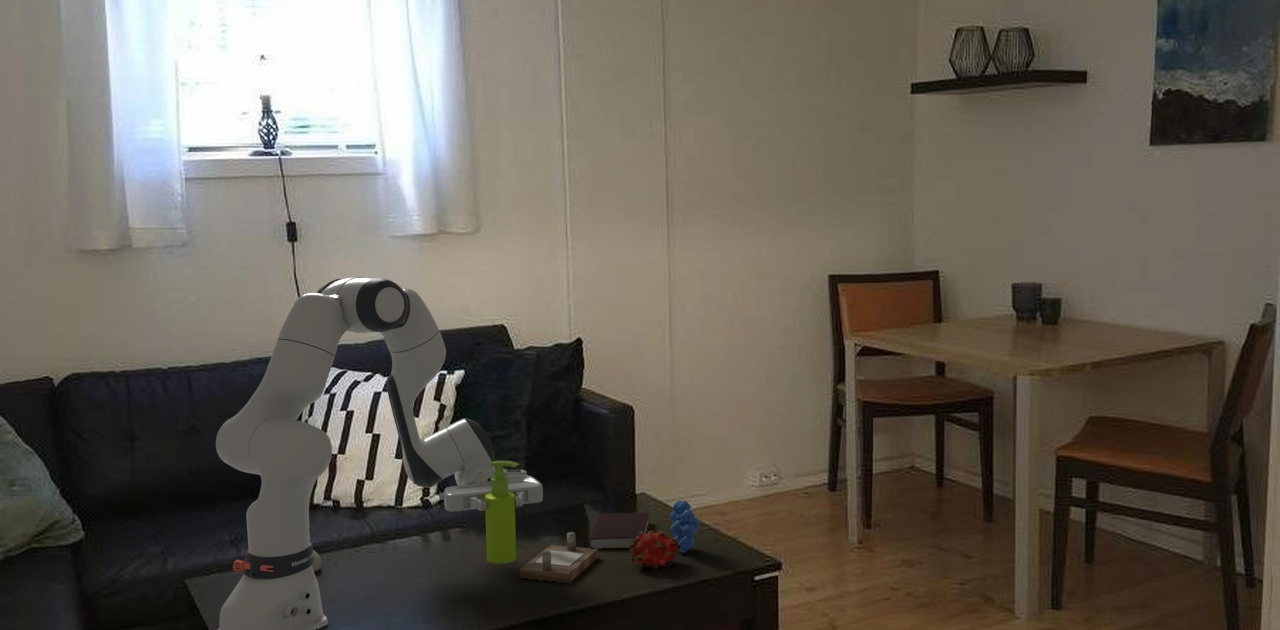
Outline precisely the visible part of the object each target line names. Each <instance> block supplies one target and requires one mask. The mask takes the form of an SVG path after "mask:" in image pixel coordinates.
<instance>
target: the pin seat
mask: <svg viewBox="0 0 1280 630" xmlns="http://www.w3.org/2000/svg"><path fill="white" fill-rule="evenodd" d="M576 543H577V542H576V532H573V531H571V532H570V531H569V532H567V533H566V545H556V544H550V545H549V546H548V547H546V548H545V549H544V550H542V551H541V552H540V553H538V555H536V556H535V557H534V558H533V557H532V559H531V560H530V561H528V562H526V563H525V564H524V565H523V566H521V567H520V568H519V578H520V577H521V578H520V579H523V578H528V579H527V580H532V579H538V580H537V581H542V580H549V581H548V582H552V581H556V582H555V583H561V582H562V583H563V584H570V583H571V582H573V581H574V578H575V579H576V578H577V577H578V576H579V575H581V574H582V573H583V572H584V571H585V570H586V569H588V568H589V566H591V565H592V564H593V563H594V562H595V561H597V560H598V559H599V556H598V555H599V552H598V551H599V548H595V549H591V548H589V547H579V546H578V547H577V546H576ZM590 564H591V565H590Z"/></svg>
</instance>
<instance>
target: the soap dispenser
mask: <svg viewBox="0 0 1280 630" xmlns="http://www.w3.org/2000/svg"><path fill="white" fill-rule="evenodd" d="M519 465H520V463H519V462H515V461H511V460H494V461H493V462H492V463H491V466H494V467H495V476H494V477H493V478H491V493H489V494H487V495H486V496H485V501H486V502H487V506H486V507H487V510H484V511H485V538H486V539H485V540H486V541H485V544H486V547H485V548H486V561H487V562H489V563H490V564H497V565H499V564H500V565H501V564H502V565H503V564H508V563H512V562H514V561H516V560H517V540H516V538H517V537H516V536H517V534H516V533H517V532H516V507H515V495H514V494H513V493H510V492H508V478H507V477H505V476H504V471H503V469H504V467H511V468H514V469H515V468H516V467H518V466H519Z"/></svg>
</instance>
